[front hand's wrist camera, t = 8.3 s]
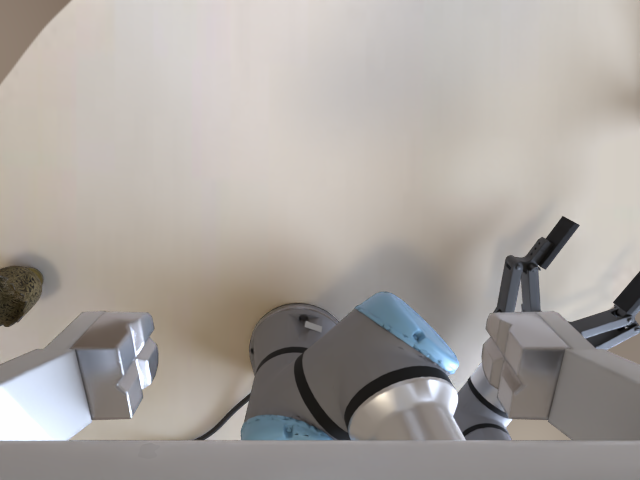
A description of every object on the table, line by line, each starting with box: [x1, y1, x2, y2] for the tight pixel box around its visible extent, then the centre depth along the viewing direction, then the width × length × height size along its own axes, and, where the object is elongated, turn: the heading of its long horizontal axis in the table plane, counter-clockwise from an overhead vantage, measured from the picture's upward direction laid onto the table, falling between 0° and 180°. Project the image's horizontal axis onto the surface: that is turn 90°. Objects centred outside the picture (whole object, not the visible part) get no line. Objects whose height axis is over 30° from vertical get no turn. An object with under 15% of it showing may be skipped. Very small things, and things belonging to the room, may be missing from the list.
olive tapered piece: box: [0, 266, 43, 327], centre depth 59 cm, size 8×7×8 cm
